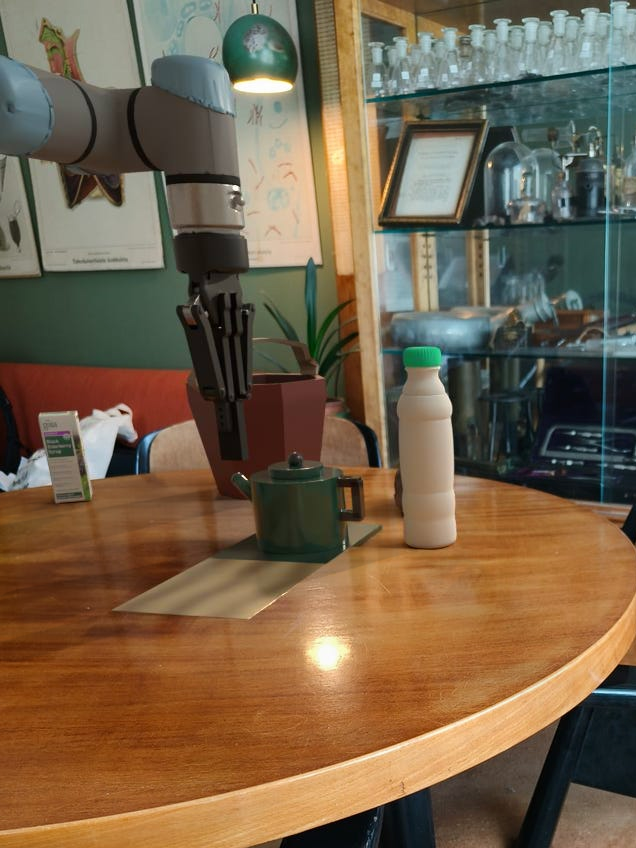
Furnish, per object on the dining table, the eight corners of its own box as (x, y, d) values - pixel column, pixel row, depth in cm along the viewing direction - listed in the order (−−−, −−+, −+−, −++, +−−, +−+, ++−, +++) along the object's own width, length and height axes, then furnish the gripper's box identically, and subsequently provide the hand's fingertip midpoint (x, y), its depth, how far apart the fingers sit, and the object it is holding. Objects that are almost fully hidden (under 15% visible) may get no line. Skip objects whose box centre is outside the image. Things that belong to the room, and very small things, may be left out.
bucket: (315, 471, 169) (302, 333, 160) (362, 491, 151) (351, 337, 142) (185, 487, 157) (164, 340, 148) (220, 510, 140) (198, 344, 130)
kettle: (216, 550, 115) (204, 459, 110) (261, 527, 125) (251, 443, 121) (347, 557, 110) (340, 462, 106) (382, 533, 121) (376, 446, 116)
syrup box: (54, 504, 147) (36, 415, 142) (57, 497, 152) (40, 411, 147) (91, 500, 149) (75, 412, 144) (93, 494, 154) (77, 409, 149)
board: (111, 617, 94) (110, 610, 93) (279, 525, 130) (279, 520, 129) (249, 626, 90) (248, 619, 90) (382, 529, 126) (382, 524, 126)
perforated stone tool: (398, 497, 145) (396, 455, 143) (430, 496, 146) (428, 454, 143) (392, 519, 131) (389, 472, 129) (428, 518, 132) (425, 471, 129)
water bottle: (394, 547, 117) (382, 348, 108) (420, 534, 123) (411, 345, 114) (441, 552, 114) (433, 349, 105) (465, 538, 120) (459, 345, 111)
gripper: (209, 228, 86) (236, 471, 94) (270, 235, 97) (289, 450, 106) (141, 230, 87) (174, 468, 96) (209, 237, 99) (233, 449, 108)
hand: (235, 459), depth 101 cm, fingers closed
